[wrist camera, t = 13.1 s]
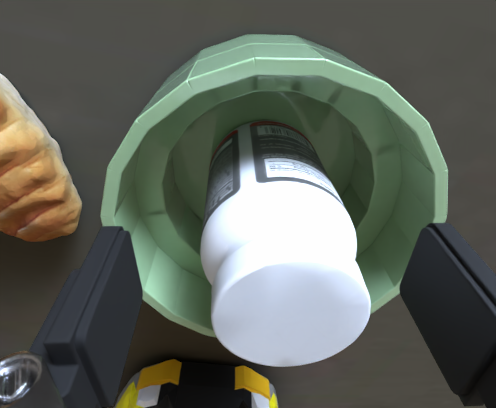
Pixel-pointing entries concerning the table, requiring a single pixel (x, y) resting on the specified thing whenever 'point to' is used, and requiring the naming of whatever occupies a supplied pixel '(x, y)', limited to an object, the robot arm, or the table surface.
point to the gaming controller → (197, 387)
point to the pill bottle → (279, 250)
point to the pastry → (32, 175)
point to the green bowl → (296, 115)
